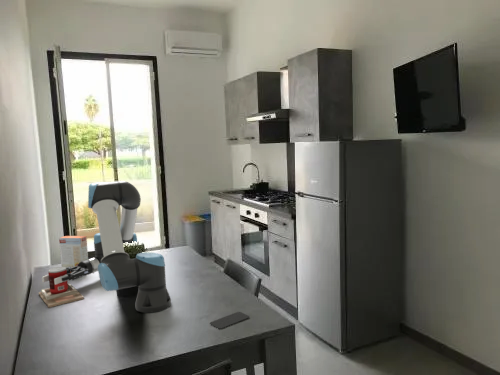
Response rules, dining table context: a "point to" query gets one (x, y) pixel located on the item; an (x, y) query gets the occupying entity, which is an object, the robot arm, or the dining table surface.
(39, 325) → the dining table surface
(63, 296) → the board
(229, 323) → the phone
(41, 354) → the dining table surface
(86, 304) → the dining table surface
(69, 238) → the cracker box
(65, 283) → the canned food
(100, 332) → the dining table surface
